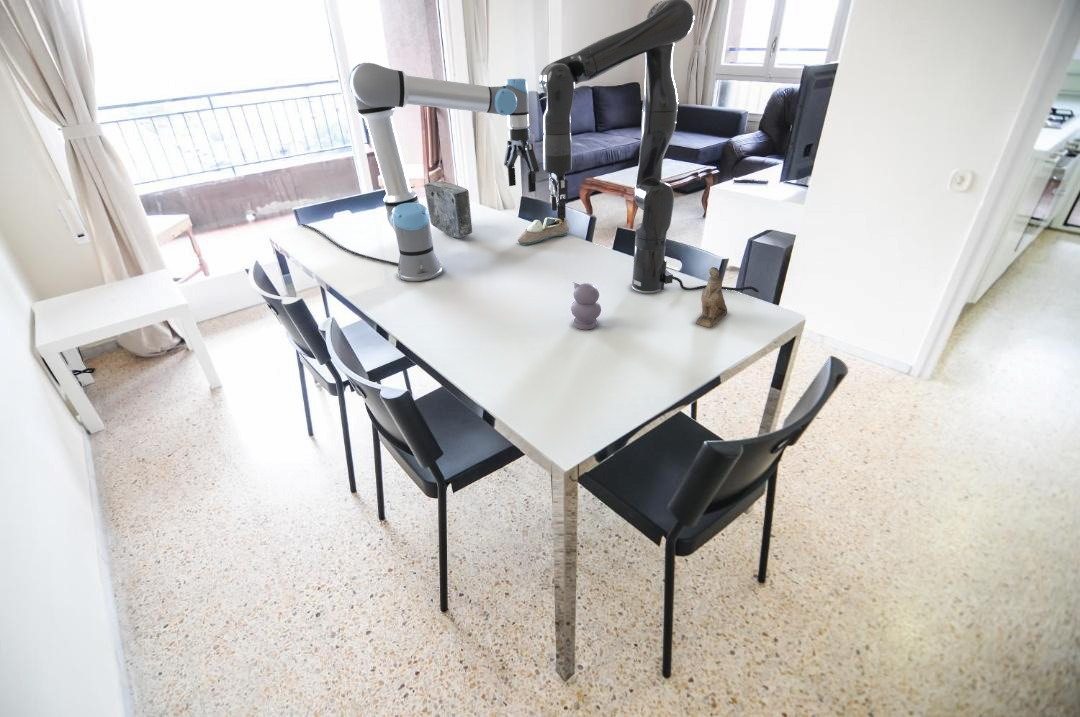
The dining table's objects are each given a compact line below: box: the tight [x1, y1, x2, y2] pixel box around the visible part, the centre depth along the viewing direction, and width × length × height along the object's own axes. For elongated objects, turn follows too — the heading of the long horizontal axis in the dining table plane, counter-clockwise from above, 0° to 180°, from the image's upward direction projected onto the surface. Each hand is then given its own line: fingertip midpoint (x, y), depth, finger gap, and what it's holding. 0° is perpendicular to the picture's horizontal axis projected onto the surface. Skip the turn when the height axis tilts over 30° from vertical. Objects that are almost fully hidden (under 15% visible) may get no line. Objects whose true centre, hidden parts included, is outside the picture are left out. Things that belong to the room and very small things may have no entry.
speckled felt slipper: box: [516, 216, 570, 246], centre depth 203 cm, size 8×25×8 cm, turn 126°
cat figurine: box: [570, 281, 602, 331], centre depth 136 cm, size 8×8×12 cm
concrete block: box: [424, 180, 473, 238], centre depth 209 cm, size 27×9×20 cm, turn 36°
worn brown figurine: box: [695, 266, 728, 328], centre depth 135 cm, size 12×6×18 cm, turn 136°
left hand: (522, 188), depth 190 cm, fingers open, 13 cm apart
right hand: (558, 214), depth 138 cm, fingers open, 8 cm apart
